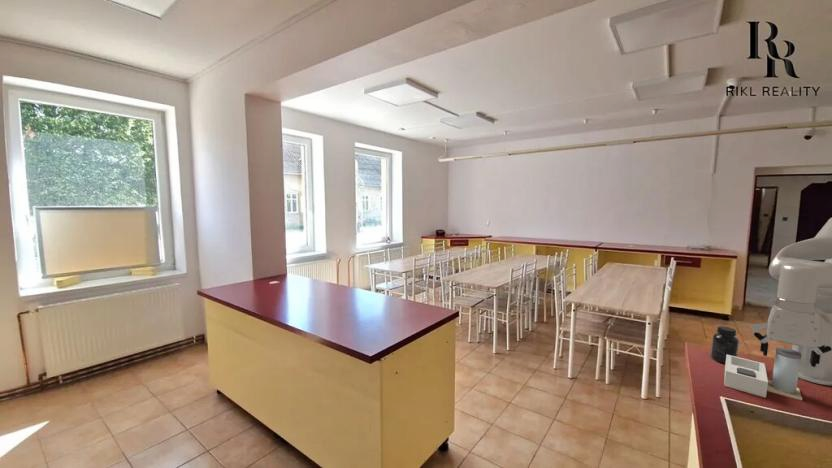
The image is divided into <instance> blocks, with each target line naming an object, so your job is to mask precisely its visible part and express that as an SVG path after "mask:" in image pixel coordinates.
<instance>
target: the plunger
mask: <svg viewBox="0 0 832 468" xmlns="http://www.w3.org/2000/svg"><path fill="white" fill-rule="evenodd" d="M738 373H739V374H742V375H746V376H750V377H754V371H751V370H747V369H743V368H740V367H738Z"/></svg>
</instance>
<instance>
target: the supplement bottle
mask: <svg viewBox="0 0 832 468" xmlns="http://www.w3.org/2000/svg"><path fill="white" fill-rule="evenodd" d="M736 336H737V330H736V329H735V328H732V327H730V326H724V325H723V326H722V325H720V326H717V329H716V333H714V334H713V335H712V342H711V354H710V357H711V359H712V360H713V361H714V362H715V361H716V362H718V363H720V364H724V365H725V363H726V354H727V355H731V356H735V357H738V353H739V344H740V340H739V339H738V338H737V337H736Z"/></svg>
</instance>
